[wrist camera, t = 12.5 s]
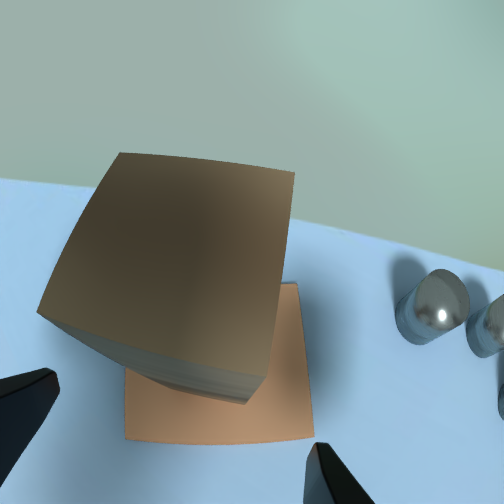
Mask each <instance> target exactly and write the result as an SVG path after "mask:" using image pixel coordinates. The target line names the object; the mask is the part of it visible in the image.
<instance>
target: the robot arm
mask: <svg viewBox="0 0 504 504" xmlns="http://www.w3.org/2000/svg"><path fill="white" fill-rule="evenodd" d="M59 392H60V387H59V382H58V378H57V374H56V372H55V371H53V370H51V369H49V368H42V369H38V370H34V371H31V372H27V373H23V374H19V375H15V376H11V377H7V378H3V379H0V487H1V486H2V484H3V482H4V481H5V479H6V478H7V476H8V474H9V473H10V471H11V470H12V468H13V467H14V465H15V463H16V462H17V460H18V459H19V457H20V456H21V454H22V453H23V451H24V450H25V448H26V447H27V445H28V444H29V442H30V441H31V440H32V438H33V437H34V435H35V434H36V432H37V431H38V429H39V428H40V427H41V425H42V424H43V422H44V420H45V418H46V417H47V415H48V413H49V411H50V409H51V407H52V406H53V404H54V402H55V400H56V399H57V397H58V395H59ZM303 504H375V503H374V501H373V500H372V499H371V498H370V496H369V495H368V494H367V493H366V491H365V490H364V489H363V488H362V486H361V485H360V484H359V483H358V481H357V480H356V479H355V478H354V476H353V475H352V474H351V472H350V471H349V470H348V468H347V467H346V466H345V465H344V463H343V462H342V461H341V459H340V458H339V457H338V455H337V454H336V453H335V451H334V450H333V449H332V447H331V446H330V445H329V444H328V443H323V442H316V443H315V444H314V445H313V447H312V449H311V451H310V453H309V455H308V457H307V461H306V473H305V486H304V498H303Z"/></svg>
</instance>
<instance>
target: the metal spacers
mask: <svg viewBox="0 0 504 504" xmlns="http://www.w3.org/2000/svg"><path fill="white" fill-rule="evenodd" d="M469 309H470V301H469V296H468V292H467V290H466V288H465V286H464V284H463V283H462V281H461V280H460V279H459V278H458V277H457V276H456V275H455V274H454V273H452V272H450V271H448V270H445V269H437V270H434V271H432V272H431V273H430V274H429V275H428V276H427V277H426V278H424V279H423V280H422V281H421V282H420V283H419V284H418V285H417V286H416V287H415V288H414V289H413V290H411V291H410V292H409V293H408V294H407V295H406V296H405V297H404V298H402V299H401V301H400V302H399V303H398V305H397V308H396V314H395V318H396V324H397V327H398V329H399V331H400V333H401V334H402V336H403V337H404V338H405V339H406V340H407V341H409V342H410V343H412V344H415V345H424V344H427V343H429V342H431V341H433V340H434V339H436V338H438V337H440V336H442V335H443V334H445V333H447V332H449V331H450V330H452V329H454V328H456V327H457V326H459V325H461V324H462V323H463V322H464V321H465V320H466V318H467V316H468V314H469ZM467 340H468V343H469V346H470V348H471V350H472V351H473V353H474V354H475V355H477V356H478V357H480V358H487V357H489V356H491V355H494V354H496V353H498V352H500V351H502V350H504V294H503V295H502V296H500V297H499V298H497V299H496V300H495V301H493V302H492V303H490V304H489V305H487V306H486V307H484V308H483V309H481V310H480V311H478V312H477V313H475V314H474V315H472V316H471V317H470V319H469V321H468V324H467ZM498 409H499V413H500V416H501V418H502V419H503V420H504V384H503V385H502V387H501V390H500V393H499V399H498Z"/></svg>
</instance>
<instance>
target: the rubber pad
mask: <svg viewBox="0 0 504 504" xmlns="http://www.w3.org/2000/svg"><path fill="white" fill-rule="evenodd" d="M311 437H314V426H313V415H312V404H311V394H310V385H309V375H308V366H307V357H306V349H305V341H304V332H303V324H302V317H301V309H300V302H299V294H298V287H297V283H296V284H281V287H280V294H279V301H278V308H277V315H276V322H275V328H274V335H273V341H272V348H271V354H270V360H269V366H268V372H267V377H266V378H265V380H264V381H263V382H262V384H261V385H260V386H259V388H258V389H257V390H256V391H255V393H254V394H253V395H252V397H251V398H250V399H249V400H248V402H247V403H246V404H245V405H242V404H237V403H231V402H226V401H221V400H216V399H211V398H207V397H202V396H198V395H193V394H189V393H185V392H181V391H177V390H173V389H170V388H168V387H165V386H163V385H161V384H159V383H157V382H155V381H153V380H150V379H148V378H146V377H144V376H142V375H140V374H138V373H136V372H134V371H132V370H130V369H128V368H126V369H125V439H128V440H137V441H146V442H156V443H170V444H190V445H234V444H255V443H268V442H279V441H288V440H297V439H304V438H311Z"/></svg>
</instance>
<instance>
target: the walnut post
mask: <svg viewBox="0 0 504 504" xmlns="http://www.w3.org/2000/svg"><path fill="white" fill-rule="evenodd" d="M294 175H295V173H294V172H289V171H282V170H277V169H271V168H265V167H258V166H252V165H245V164H238V163H230V162H222V161H214V160H205V159H197V158H187V157H177V156H165V155H152V154H138V153H119V154H118V156H117V157H116V159H115V160H114V162H113V163H112V165H111V166H110V168H109V170H108V171H107V173H106V174H105V176H104V177H103V179H102V180H101V182H100V184H99V185H98V187H97V189H96V190H95V192H94V194H93V195H92V197H91V199H90V200H89V202H88V204H87V205H86V207H85V209H84V211H83V213H82V214H81V216H80V218H79V220H78V222H77V224H76V225H75V227H74V229H73V231H72V233H71V235H70V237H69V239H68V241H67V243H66V245H65V247H64V249H63V251H62V253H61V255H60V257H59V259H58V262H57V264H56V266H55V268H54V270H53V273H52V275H51V277H50V279H49V282H48V284H47V287H46V289H45V291H44V294H43V296H42V299H41V301H40V304H39V307H38V309H37V313H38V314H40V315H41V316H42V317H44V318H45V319H47V320H48V321H50V322H51V323H53V324H54V325H56V326H57V327H59V328H60V329H62V330H63V331H65V332H66V333H68V334H69V335H71V336H72V337H74V338H76V339H77V340H79V341H81V342H82V343H84V344H85V345H87V346H89V347H90V348H92V349H94V350H96V351H97V352H99V353H101V354H103V355H104V356H106V357H108V358H110V359H112V360H113V361H115V362H117V363H119V364H121V365H123V366H125V367H126V368H128V369H130V370H132V371H134V372H136V373H138V374H140V375H142V376H144V377H146V378H148V379H150V380H153V381H155V382H157V383H159V384H161V385H163V386H165V387H168V388H170V389H173V390H177V391H181V392H185V393H189V394H193V395H198V396H202V397H207V398H211V399H216V400H221V401H226V402H231V403H237V404H242V405H245V404H246V403H247V402H248V400H249V399H250V398H251V397H252V395H253V394H254V393H255V391H256V390H257V389H258V388H259V386H260V385H261V384H262V382H263V381H264V380H265V378H266V377H267V372H268V366H269V360H270V354H271V348H272V341H273V335H274V328H275V322H276V315H277V308H278V301H279V294H280V287H281V280H282V273H283V266H284V258H285V251H286V243H287V235H288V227H289V219H290V211H291V202H292V193H293V185H294Z"/></svg>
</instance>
